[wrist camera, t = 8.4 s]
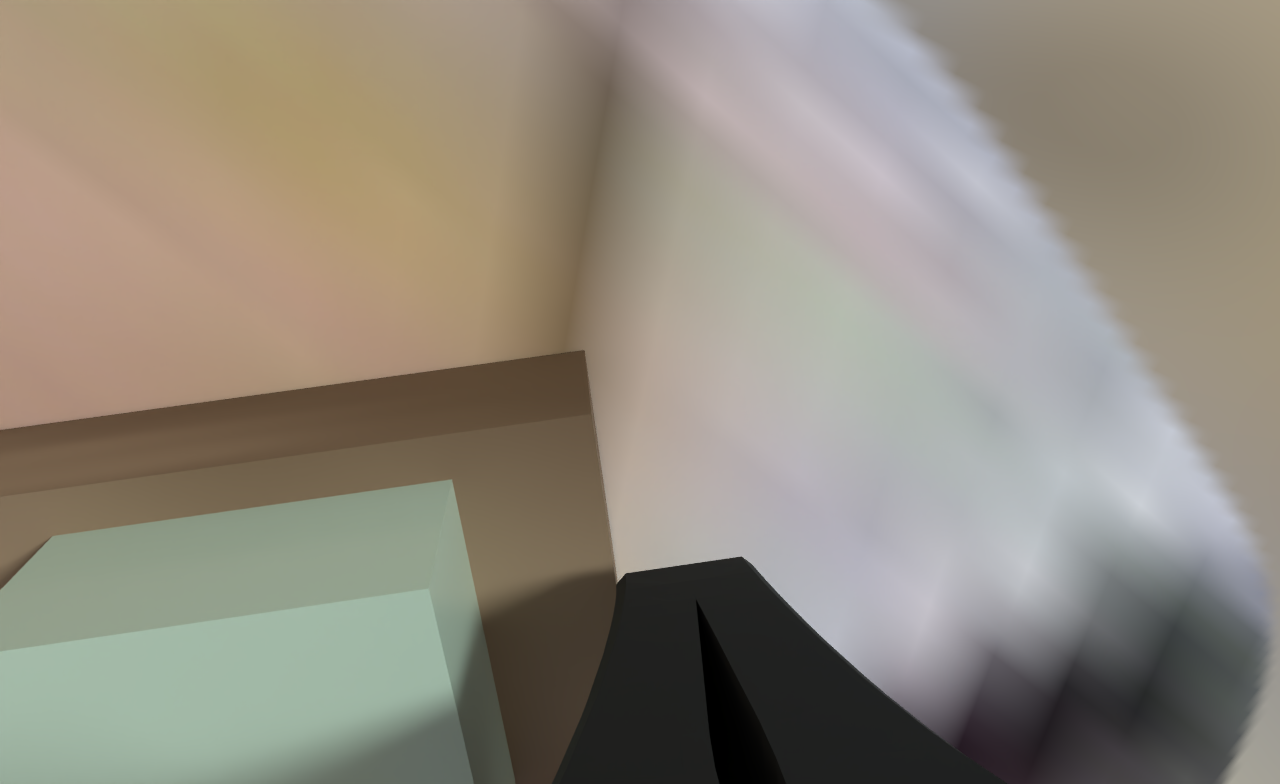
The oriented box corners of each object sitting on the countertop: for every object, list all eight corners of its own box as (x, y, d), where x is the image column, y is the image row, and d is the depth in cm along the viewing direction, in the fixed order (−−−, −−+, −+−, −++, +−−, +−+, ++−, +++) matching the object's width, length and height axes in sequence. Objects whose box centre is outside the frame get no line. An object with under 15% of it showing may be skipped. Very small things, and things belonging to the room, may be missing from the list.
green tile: (514, 781, 11) (508, 933, 9) (171, 834, 11) (93, 1001, 9) (452, 479, 10) (428, 589, 8) (53, 535, 9) (-70, 661, 8)
